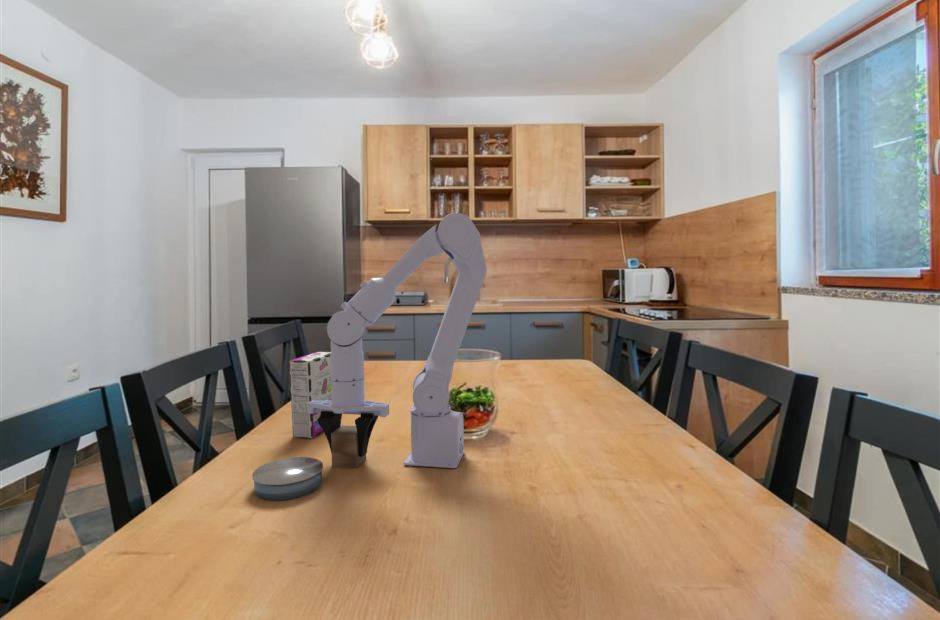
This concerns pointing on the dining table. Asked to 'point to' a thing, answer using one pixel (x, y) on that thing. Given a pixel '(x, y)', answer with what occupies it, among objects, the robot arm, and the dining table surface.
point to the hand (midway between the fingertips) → (349, 453)
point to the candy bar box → (309, 391)
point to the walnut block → (345, 448)
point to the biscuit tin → (287, 478)
